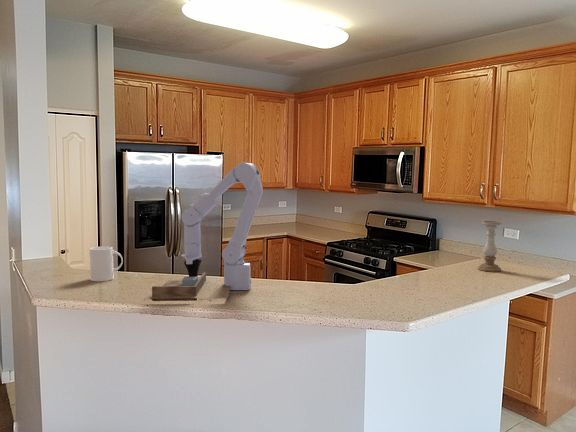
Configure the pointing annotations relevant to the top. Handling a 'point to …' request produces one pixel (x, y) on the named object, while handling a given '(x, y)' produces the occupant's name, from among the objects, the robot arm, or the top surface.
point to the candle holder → (490, 248)
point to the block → (189, 281)
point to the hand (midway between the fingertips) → (193, 280)
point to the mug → (102, 263)
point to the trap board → (178, 290)
